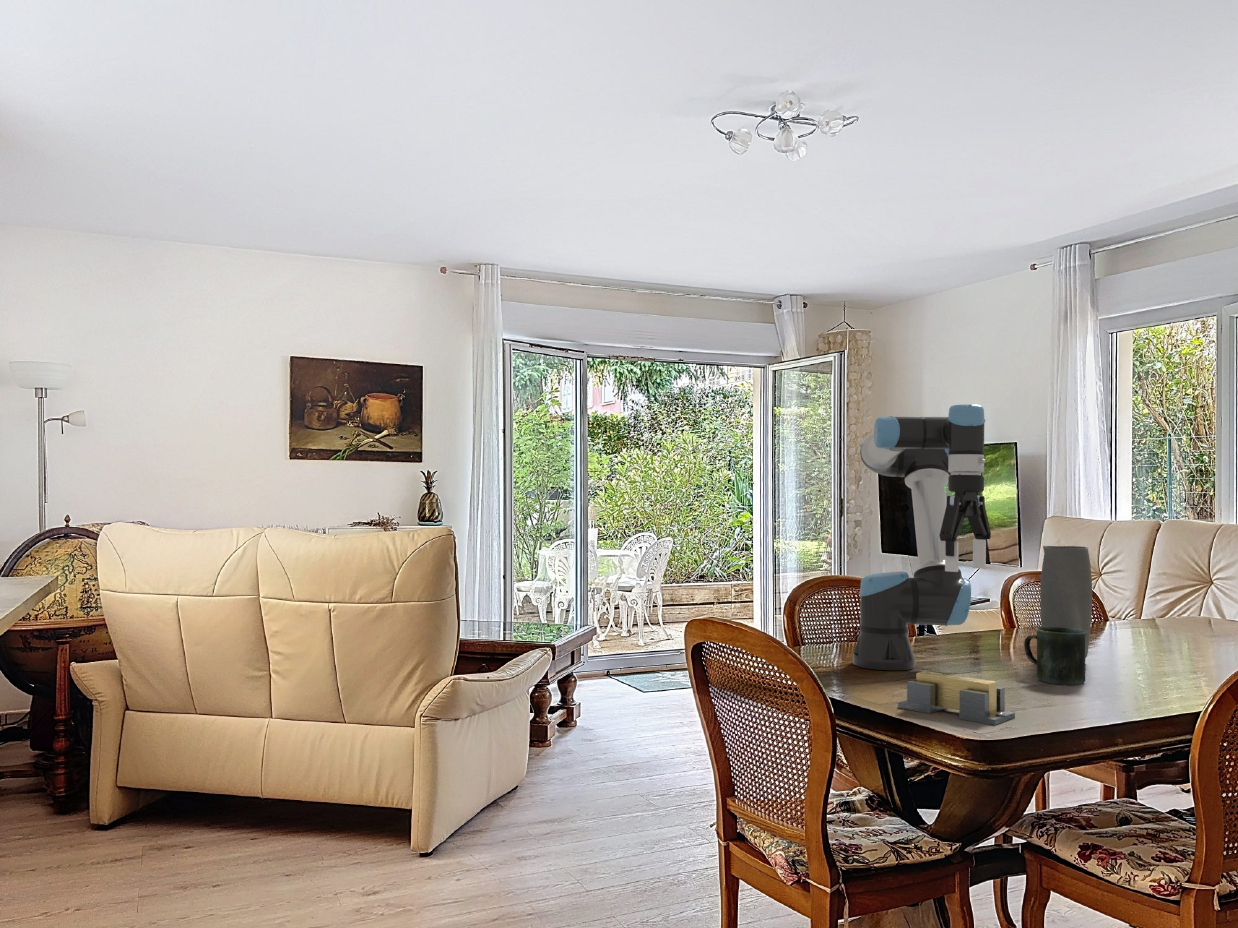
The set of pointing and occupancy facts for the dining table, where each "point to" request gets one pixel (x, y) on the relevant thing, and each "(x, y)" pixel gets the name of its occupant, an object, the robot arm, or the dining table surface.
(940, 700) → the wooden beam block
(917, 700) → the grey slotted bracket
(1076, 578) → the vase
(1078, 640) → the mug
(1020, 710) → the dining table surface
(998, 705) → the grey beam support bracket
